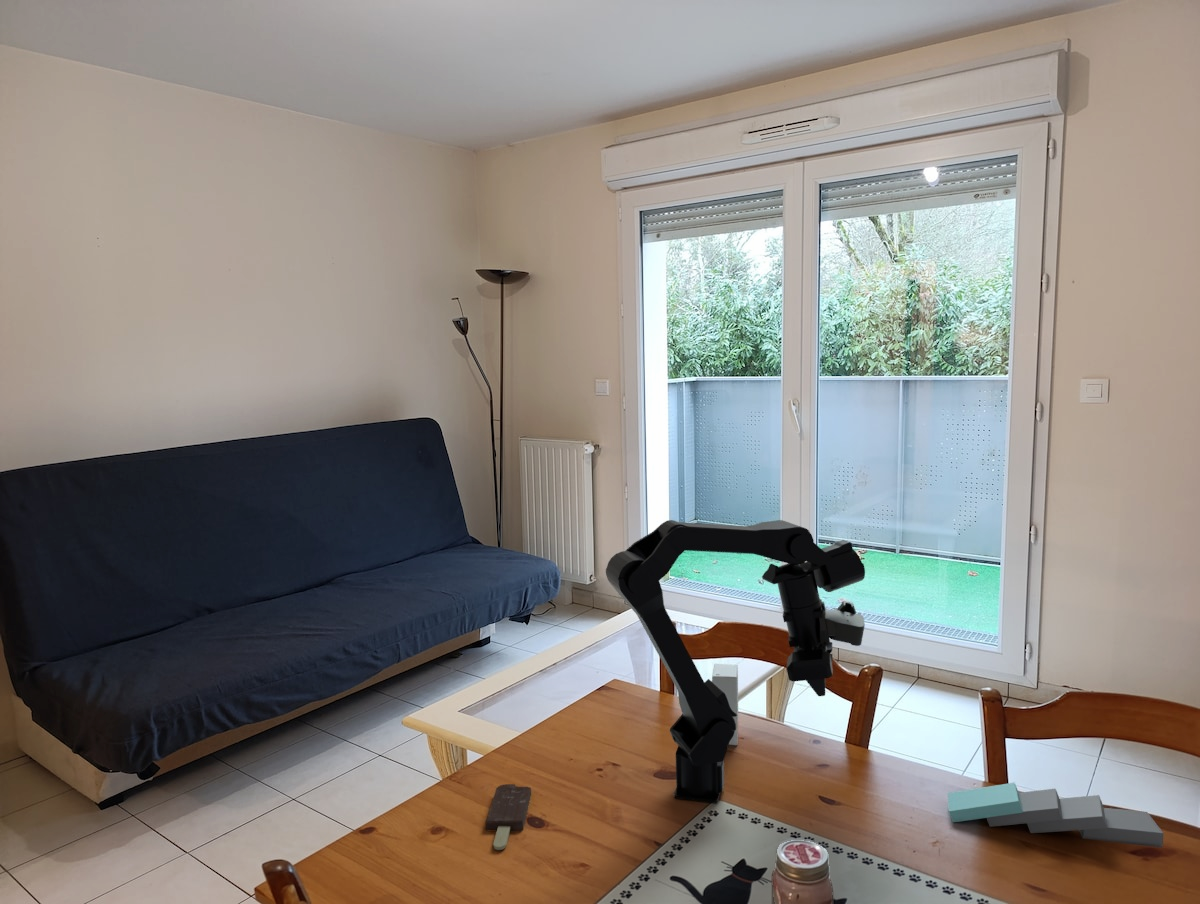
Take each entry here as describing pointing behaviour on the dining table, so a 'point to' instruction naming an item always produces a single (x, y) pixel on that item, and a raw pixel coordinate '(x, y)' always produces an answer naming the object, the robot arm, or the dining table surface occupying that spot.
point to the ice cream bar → (508, 812)
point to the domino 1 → (1032, 809)
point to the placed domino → (984, 802)
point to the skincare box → (728, 689)
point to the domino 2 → (1075, 816)
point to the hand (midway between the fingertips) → (821, 694)
